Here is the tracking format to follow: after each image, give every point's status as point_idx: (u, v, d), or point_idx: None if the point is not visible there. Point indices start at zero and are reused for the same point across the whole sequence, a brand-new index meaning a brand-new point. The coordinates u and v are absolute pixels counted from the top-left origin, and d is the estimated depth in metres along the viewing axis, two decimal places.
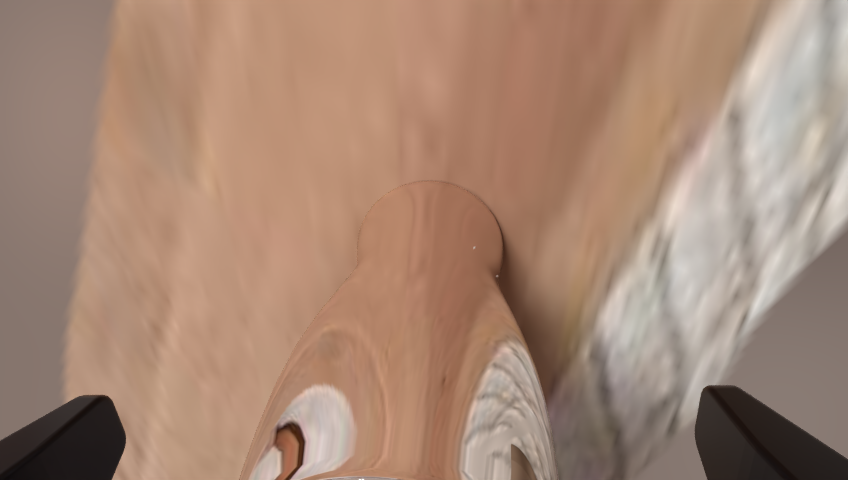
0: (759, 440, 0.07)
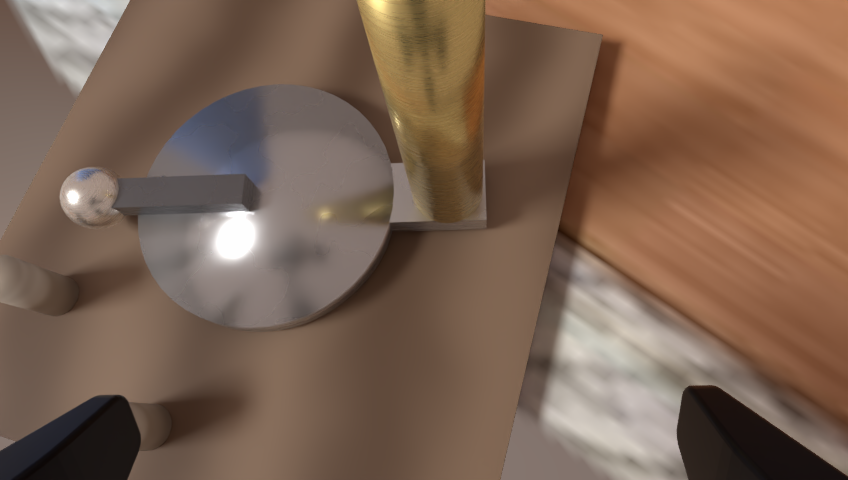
0: (736, 440, 0.07)
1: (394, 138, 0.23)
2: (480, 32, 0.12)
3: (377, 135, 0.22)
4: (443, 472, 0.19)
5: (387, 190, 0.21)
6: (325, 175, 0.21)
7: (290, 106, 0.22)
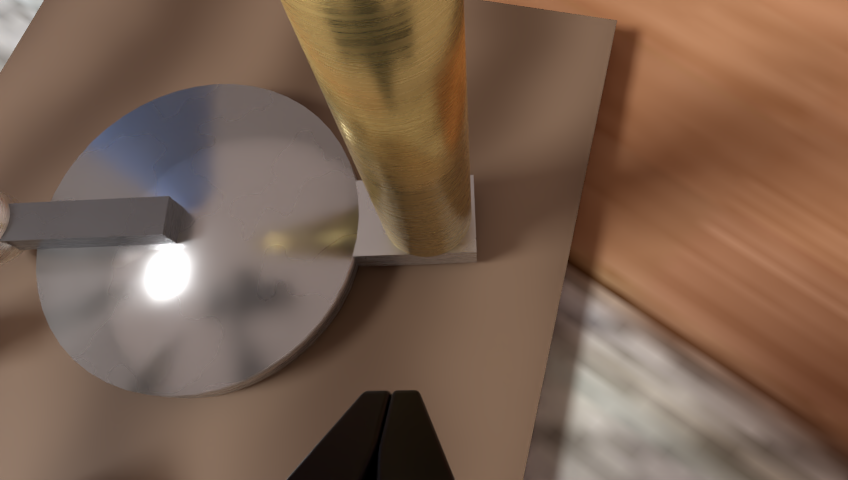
0: (386, 442, 0.07)
1: None
2: None
3: (339, 145, 0.17)
4: None
5: (350, 215, 0.16)
6: (273, 197, 0.17)
7: (232, 111, 0.18)
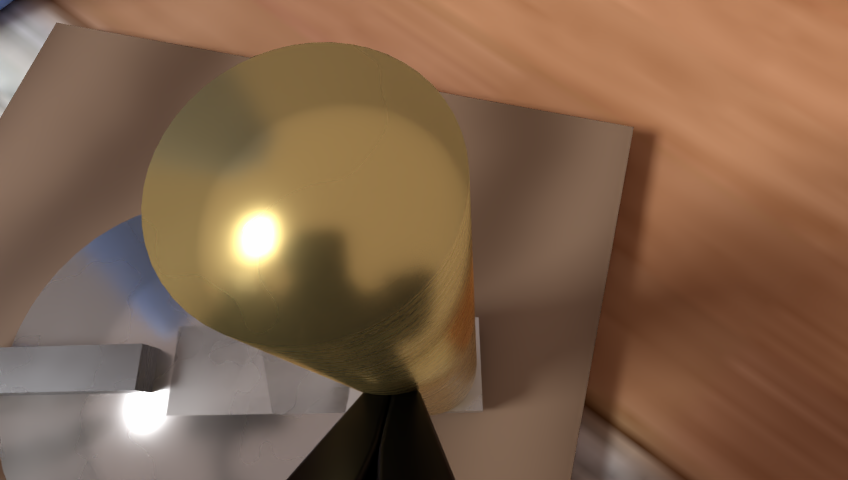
0: (387, 443, 0.07)
1: None
2: (463, 296, 0.06)
3: None
4: None
5: None
6: None
7: None
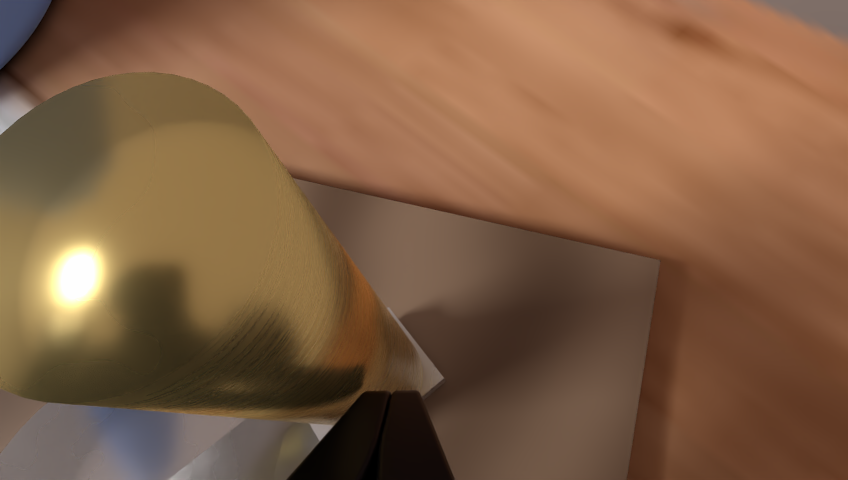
0: (387, 443, 0.07)
1: None
2: (333, 250, 0.06)
3: None
4: None
5: (301, 429, 0.14)
6: (207, 468, 0.14)
7: (99, 408, 0.15)
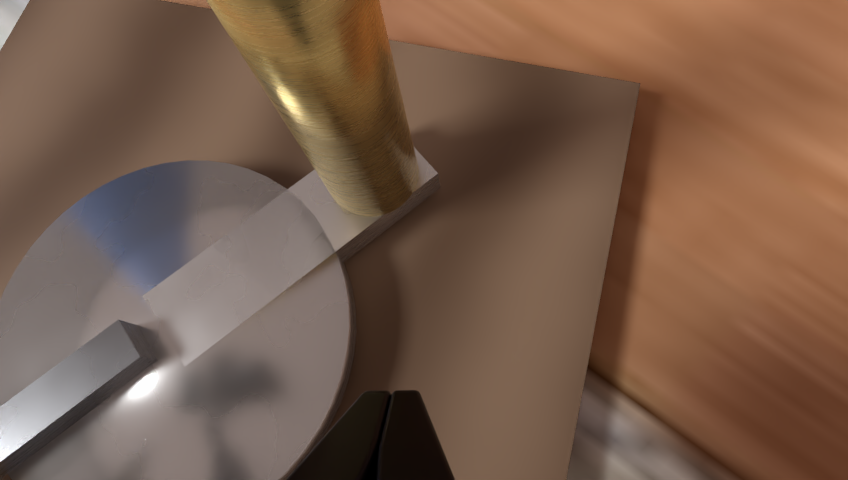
0: (386, 442, 0.07)
1: None
2: None
3: (248, 171, 0.16)
4: None
5: (306, 219, 0.15)
6: (220, 254, 0.15)
7: (119, 209, 0.16)
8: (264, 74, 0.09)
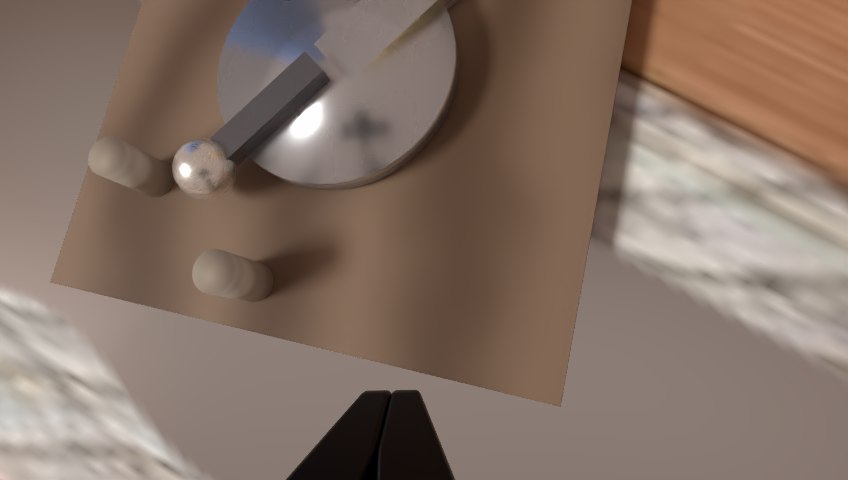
0: (386, 443, 0.07)
1: None
2: None
3: None
4: (525, 295, 0.20)
5: None
6: (362, 11, 0.22)
7: None
8: None
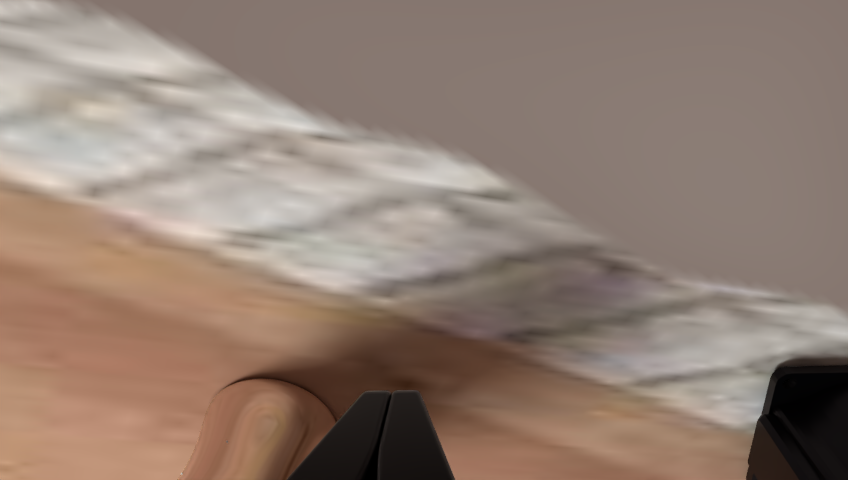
0: (387, 443, 0.07)
1: None
2: None
3: None
4: None
5: None
6: None
7: None
8: None
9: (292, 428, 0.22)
